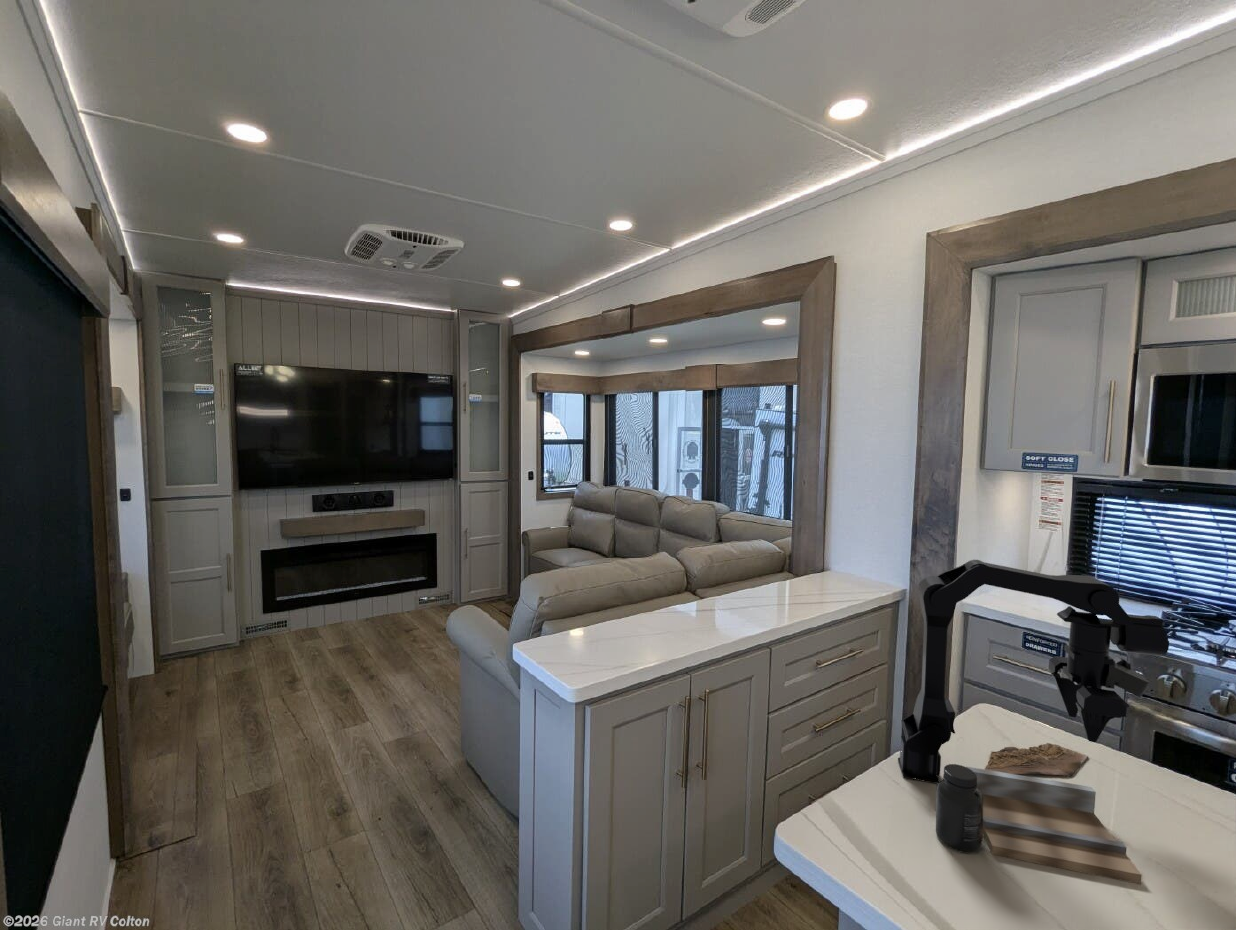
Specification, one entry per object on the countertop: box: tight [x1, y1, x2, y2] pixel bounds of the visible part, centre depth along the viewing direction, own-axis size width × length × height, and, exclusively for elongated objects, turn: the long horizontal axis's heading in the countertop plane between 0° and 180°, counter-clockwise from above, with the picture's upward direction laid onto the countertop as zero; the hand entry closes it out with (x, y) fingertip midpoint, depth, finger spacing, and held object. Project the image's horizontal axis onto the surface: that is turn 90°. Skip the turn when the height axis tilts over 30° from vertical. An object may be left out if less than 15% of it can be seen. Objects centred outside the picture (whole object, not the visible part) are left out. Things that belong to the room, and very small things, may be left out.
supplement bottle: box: [935, 763, 983, 854], centre depth 96 cm, size 7×7×12 cm
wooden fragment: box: [984, 742, 1089, 777], centre depth 119 cm, size 26×11×1 cm, turn 100°
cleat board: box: [966, 766, 1142, 885], centre depth 98 cm, size 20×16×6 cm
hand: (1081, 728), depth 106 cm, fingers open, 9 cm apart
